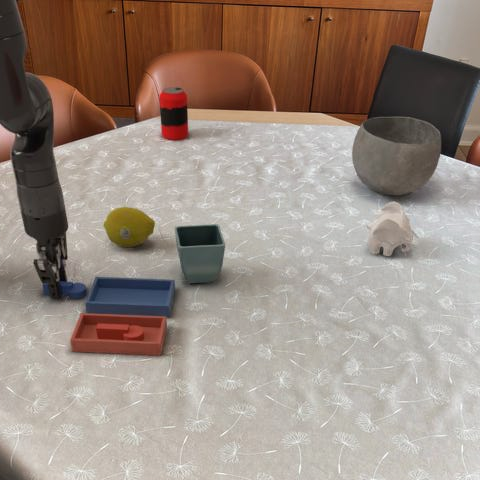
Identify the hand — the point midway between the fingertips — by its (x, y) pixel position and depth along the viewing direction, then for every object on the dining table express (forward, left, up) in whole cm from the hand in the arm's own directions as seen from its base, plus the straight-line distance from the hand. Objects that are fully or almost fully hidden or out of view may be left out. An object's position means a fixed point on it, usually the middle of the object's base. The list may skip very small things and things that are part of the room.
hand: (59, 291), depth 124 cm
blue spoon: (+1, 0, 0) cm, 1 cm away
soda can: (+12, +85, -1) cm, 86 cm away
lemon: (+10, +20, -1) cm, 22 cm away
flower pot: (+26, +8, -1) cm, 27 cm away
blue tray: (+14, -2, 0) cm, 14 cm away
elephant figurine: (+65, +22, -1) cm, 69 cm away
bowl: (+69, +53, -1) cm, 87 cm away
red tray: (+14, -14, 0) cm, 20 cm away
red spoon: (+14, -14, 0) cm, 20 cm away
